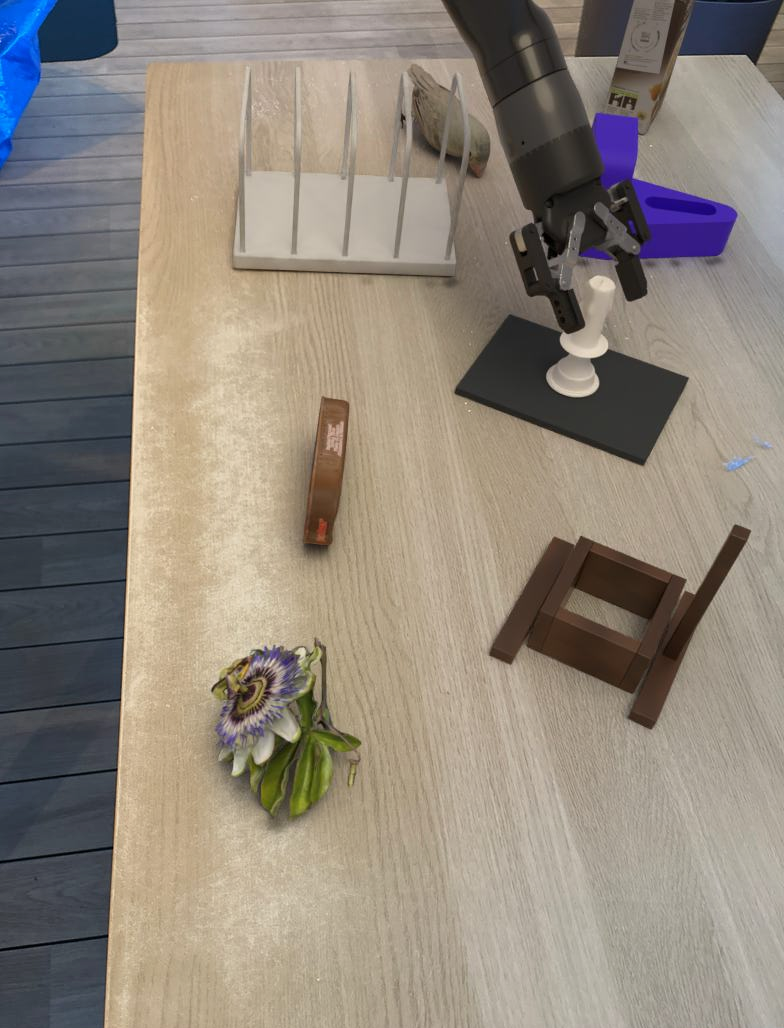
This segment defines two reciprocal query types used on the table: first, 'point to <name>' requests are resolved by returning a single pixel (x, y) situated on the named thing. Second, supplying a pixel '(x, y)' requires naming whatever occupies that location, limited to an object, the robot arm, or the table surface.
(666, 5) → the coffee box
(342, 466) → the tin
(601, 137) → the bracket
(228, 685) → the passion flower
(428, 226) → the file sorter
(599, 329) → the candle
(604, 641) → the brown wooden stand
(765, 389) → the table surface
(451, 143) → the decorative bird
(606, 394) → the mat
